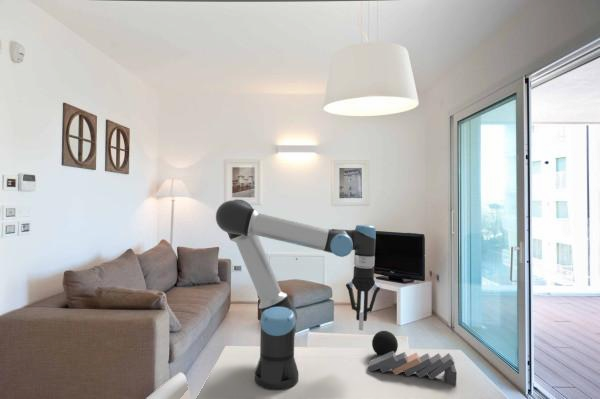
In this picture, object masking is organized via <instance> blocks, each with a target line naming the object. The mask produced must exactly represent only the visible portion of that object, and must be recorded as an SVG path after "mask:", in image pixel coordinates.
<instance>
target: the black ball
mask: <svg viewBox="0 0 600 399" xmlns="http://www.w3.org/2000/svg"><path fill="white" fill-rule="evenodd" d="M371 346H372V350H373V351H374V353H375V354H376V355H377V356H378V357H380V356H382V355H385V354H387V353H389V352H391V351H394V353H395V354H396V353H397V350H398V349H399V348H398V346H399V344H398V340H397V337H396V336H395V335H394V334H393V333H392V332H390V331H388V330H380V331H378V332H376V333H375V334H374V336H373V337H372V340H371Z"/></svg>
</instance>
